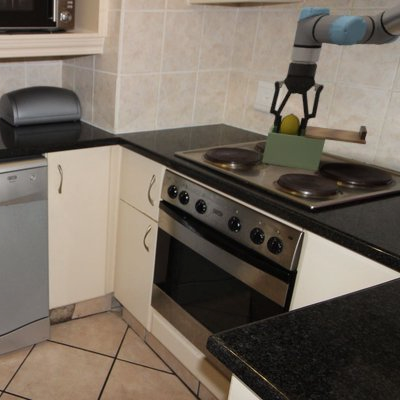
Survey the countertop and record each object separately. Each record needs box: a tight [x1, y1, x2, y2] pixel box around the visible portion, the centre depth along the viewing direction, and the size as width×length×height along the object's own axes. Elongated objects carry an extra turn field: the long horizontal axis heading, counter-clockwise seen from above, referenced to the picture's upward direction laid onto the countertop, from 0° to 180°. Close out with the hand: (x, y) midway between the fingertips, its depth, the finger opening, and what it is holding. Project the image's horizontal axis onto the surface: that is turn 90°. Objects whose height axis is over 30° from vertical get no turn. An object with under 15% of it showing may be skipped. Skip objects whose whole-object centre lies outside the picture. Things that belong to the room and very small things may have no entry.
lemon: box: [280, 113, 301, 135], centre depth 151 cm, size 6×6×8 cm
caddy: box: [261, 124, 326, 171], centre depth 152 cm, size 16×13×10 cm
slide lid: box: [305, 125, 368, 145], centre depth 145 cm, size 16×13×3 cm
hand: (287, 137), depth 152 cm, fingers closed on lemon, 5 cm apart
